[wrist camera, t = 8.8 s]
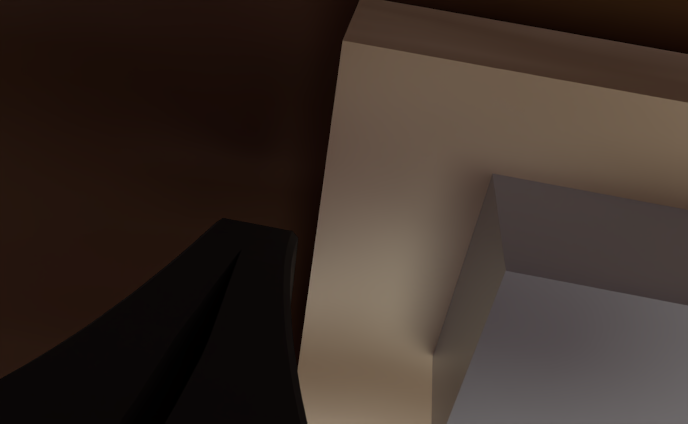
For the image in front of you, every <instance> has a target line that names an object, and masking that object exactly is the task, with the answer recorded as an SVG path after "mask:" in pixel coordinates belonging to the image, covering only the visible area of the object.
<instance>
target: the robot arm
mask: <svg viewBox="0 0 688 424" xmlns="http://www.w3.org/2000/svg"><path fill="white" fill-rule="evenodd" d="M297 244H298V237H297V236H296V235H295V234H294V232H293V231H289V230H284V229H278V228H273V227H268V226H263V225H257V224H252V223H247V222H241V221H236V220H231V219H226V218H222V219H221V220H219V221H218V222H216V223H215V224H214V225H213V226H212V227H211V228H209V229H208V230H207V231H206V232H205V233H204V234H203V235H202V236H200V237H199V238H198V239H197V240H196V241H195V242H194V243H193V244H191V245H190V246H189V247H188V248H187V249H186V250H185V251H183V252H182V253H181V254H180V255H179V256H178V257H176V258H175V259H174V260H173V261H172V262H171V263H169V264H168V265H167V266H166V267H164V268H163V269H162V270H161V271H159V272H158V273H157V274H156V275H154V276H153V277H152V278H151V279H150V280H148V281H147V282H146V283H145V284H143V285H142V286H141V287H140V288H138V289H137V290H136V291H134V292H133V293H132V294H131V295H129V296H128V297H126V298H125V299H124V300H122V301H121V302H120V303H118V304H117V305H115V306H114V307H113V308H111V309H110V310H109V311H107V312H106V313H104V314H103V315H102V316H100V317H99V318H97V319H96V320H95V321H93V322H92V323H91V324H89V325H88V326H86V327H85V328H83V329H82V330H80V331H79V332H77V333H76V334H74V335H73V336H71V337H70V338H68V339H67V340H65V341H63V342H62V343H60V344H59V345H57V346H56V347H54V348H52V349H51V350H49V351H47V352H46V353H44V354H43V355H41V356H39V357H38V358H36V359H34V360H33V361H31V362H29V363H28V364H26V365H24V366H23V367H21V368H19V369H17V370H15V371H14V372H12V373H10V374H8V375H6V376H5V377H3V378H1V379H0V424H308V423H307V419H306V414H305V409H304V404H303V400H302V395H301V389H300V384H299V378H298V372H297V365H296V358H295V350H294V342H293V333H292V319H291V298H292V289H293V280H294V271H295V262H296V253H297Z"/></svg>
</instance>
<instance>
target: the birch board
mask: <svg viewBox="0 0 688 424" xmlns="http://www.w3.org/2000/svg"><path fill="white" fill-rule="evenodd" d="M492 173H493V174H498V175H504V176H509V177H514V178H520V179H525V180H531V181H536V182H541V183H547V184H552V185H557V186H563V187H568V188H573V189H579V190H584V191H590V192H595V193H600V194H606V195H611V196H616V197H622V198H627V199H632V200H638V201H643V202H649V203H654V204H659V205H665V206H670V207H675V208H681V209H686V210H688V54H684V53H678V52H673V51H667V50H661V49H656V48H650V47H644V46H639V45H633V44H628V43H622V42H616V41H611V40H605V39H599V38H594V37H588V36H583V35H577V34H571V33H566V32H560V31H554V30H549V29H543V28H538V27H532V26H526V25H521V24H515V23H509V22H504V21H498V20H492V19H487V18H481V17H476V16H470V15H464V14H459V13H453V12H447V11H442V10H436V9H431V8H425V7H419V6H414V5H408V4H402V3H397V2H391V1H386V0H359V3H358V5H357V7H356V10H355V12H354V14H353V17H352V19H351V22H350V24H349V26H348V29H347V31H346V34H345V36H344V38H343V41H342V49H341V56H340V63H339V71H338V78H337V85H336V93H335V100H334V107H333V115H332V122H331V129H330V137H329V144H328V151H327V159H326V166H325V173H324V181H323V188H322V195H321V203H320V210H319V217H318V225H317V232H316V239H315V247H314V254H313V261H312V269H311V276H310V283H309V291H308V298H307V305H306V313H305V320H304V327H303V335H302V342H301V349H300V357H299V364H298V371H297V372H298V378H299V384H300V389H301V395H302V400H303V404H304V409H305V414H306V419H307V423H308V424H431V420H432V361H433V353H434V350H435V347H436V344H437V341H438V338H439V335H440V332H441V329H442V326H443V323H444V320H445V317H446V314H447V311H448V308H449V305H450V302H451V298H452V295H453V292H454V289H455V286H456V283H457V280H458V277H459V274H460V271H461V268H462V265H463V262H464V259H465V256H466V253H467V250H468V247H469V244H470V241H471V238H472V234H473V231H474V228H475V225H476V222H477V219H478V216H479V213H480V210H481V207H482V204H483V201H484V198H485V195H486V192H487V189H488V186H489V183H490V180H491V177H492Z"/></svg>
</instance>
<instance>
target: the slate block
mask: <svg viewBox="0 0 688 424" xmlns="http://www.w3.org/2000/svg"><path fill="white" fill-rule="evenodd" d="M431 424H688V210H686V209H681V208H675V207H670V206H665V205H659V204H654V203H649V202H643V201H638V200H632V199H627V198H622V197H616V196H611V195H606V194H600V193H595V192H590V191H584V190H579V189H573V188H568V187H563V186H557V185H552V184H547V183H541V182H536V181H531V180H525V179H520V178H514V177H509V176H504V175H498V174H493V173H492V177H491V180H490V183H489V186H488V189H487V192H486V195H485V198H484V201H483V204H482V207H481V210H480V213H479V216H478V219H477V222H476V225H475V228H474V231H473V234H472V238H471V241H470V244H469V247H468V250H467V253H466V256H465V259H464V262H463V265H462V268H461V271H460V274H459V277H458V280H457V283H456V286H455V289H454V292H453V295H452V298H451V302H450V305H449V308H448V311H447V314H446V317H445V320H444V323H443V326H442V329H441V332H440V335H439V338H438V341H437V344H436V347H435V350H434V353H433V361H432V420H431Z"/></svg>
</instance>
